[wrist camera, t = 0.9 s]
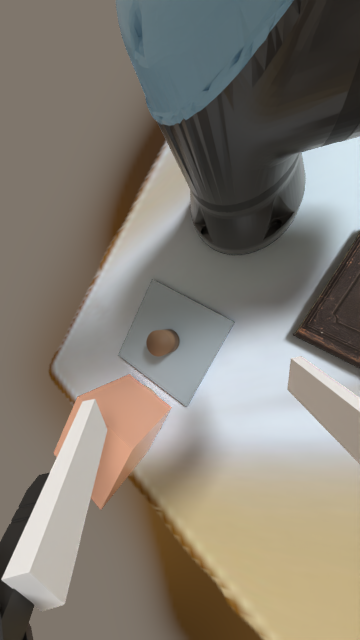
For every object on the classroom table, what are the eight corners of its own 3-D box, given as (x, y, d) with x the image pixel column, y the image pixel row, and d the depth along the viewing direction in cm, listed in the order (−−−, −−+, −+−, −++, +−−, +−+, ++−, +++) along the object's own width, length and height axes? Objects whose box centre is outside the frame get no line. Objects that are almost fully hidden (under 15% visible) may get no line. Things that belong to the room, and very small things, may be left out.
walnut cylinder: (159, 327, 32) (147, 328, 28) (180, 330, 31) (170, 331, 27) (157, 350, 32) (145, 354, 29) (178, 354, 31) (168, 358, 27)
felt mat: (154, 279, 33) (152, 279, 33) (234, 322, 28) (234, 322, 28) (120, 354, 36) (118, 355, 36) (187, 405, 31) (186, 407, 30)
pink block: (129, 374, 35) (77, 396, 24) (171, 407, 31) (132, 449, 21) (109, 415, 36) (53, 453, 26) (147, 451, 33) (100, 510, 23)
